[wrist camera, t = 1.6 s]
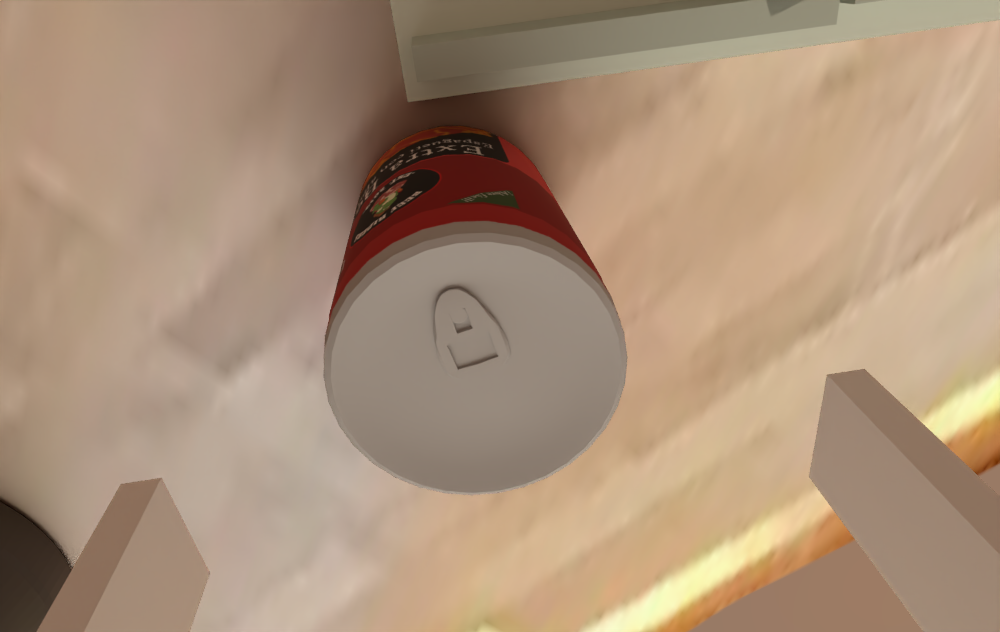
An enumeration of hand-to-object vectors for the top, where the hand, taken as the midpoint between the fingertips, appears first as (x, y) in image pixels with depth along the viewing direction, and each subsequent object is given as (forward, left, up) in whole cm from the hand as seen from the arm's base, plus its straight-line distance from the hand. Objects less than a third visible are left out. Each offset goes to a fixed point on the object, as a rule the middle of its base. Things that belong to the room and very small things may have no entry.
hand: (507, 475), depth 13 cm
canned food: (0, 0, -15) cm, 15 cm away
